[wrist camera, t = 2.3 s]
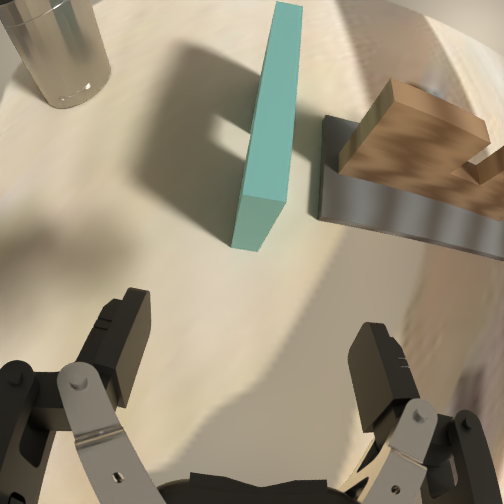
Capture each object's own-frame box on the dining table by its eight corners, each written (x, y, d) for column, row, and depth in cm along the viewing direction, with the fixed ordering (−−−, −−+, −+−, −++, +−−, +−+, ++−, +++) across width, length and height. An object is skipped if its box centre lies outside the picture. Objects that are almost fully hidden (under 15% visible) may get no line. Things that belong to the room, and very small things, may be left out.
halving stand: (317, 220, 30) (380, 151, 17) (322, 120, 33) (366, 35, 20) (502, 261, 32) (577, 235, 19) (492, 179, 35) (554, 139, 22)
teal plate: (257, 251, 29) (286, 202, 17) (231, 247, 29) (242, 194, 17) (279, 85, 34) (302, 6, 22) (259, 82, 33) (276, 1, 22)
